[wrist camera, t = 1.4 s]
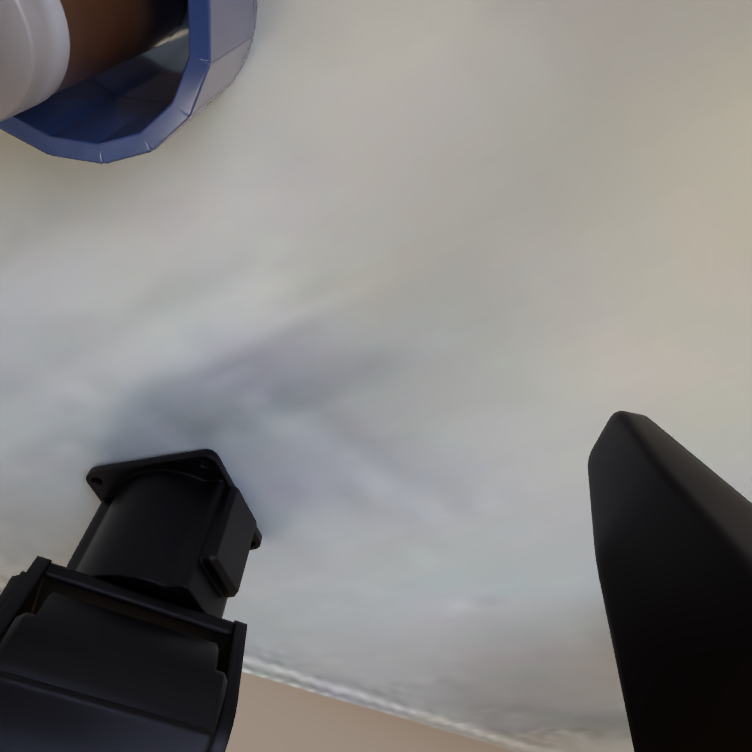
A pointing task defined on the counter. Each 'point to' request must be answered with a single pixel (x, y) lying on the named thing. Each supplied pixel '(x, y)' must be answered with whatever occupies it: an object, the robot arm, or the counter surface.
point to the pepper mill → (73, 42)
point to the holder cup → (144, 90)
